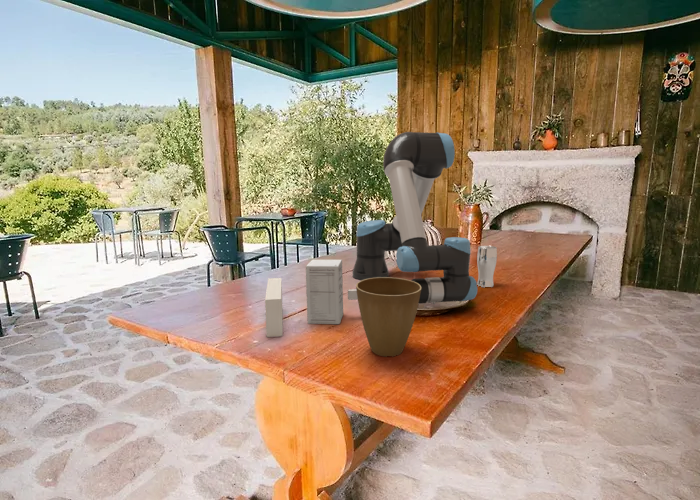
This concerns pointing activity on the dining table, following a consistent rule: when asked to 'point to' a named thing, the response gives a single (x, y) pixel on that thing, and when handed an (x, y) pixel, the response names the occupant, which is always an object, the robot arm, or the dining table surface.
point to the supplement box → (324, 291)
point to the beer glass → (486, 265)
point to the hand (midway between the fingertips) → (348, 294)
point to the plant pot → (387, 312)
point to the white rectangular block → (274, 307)
